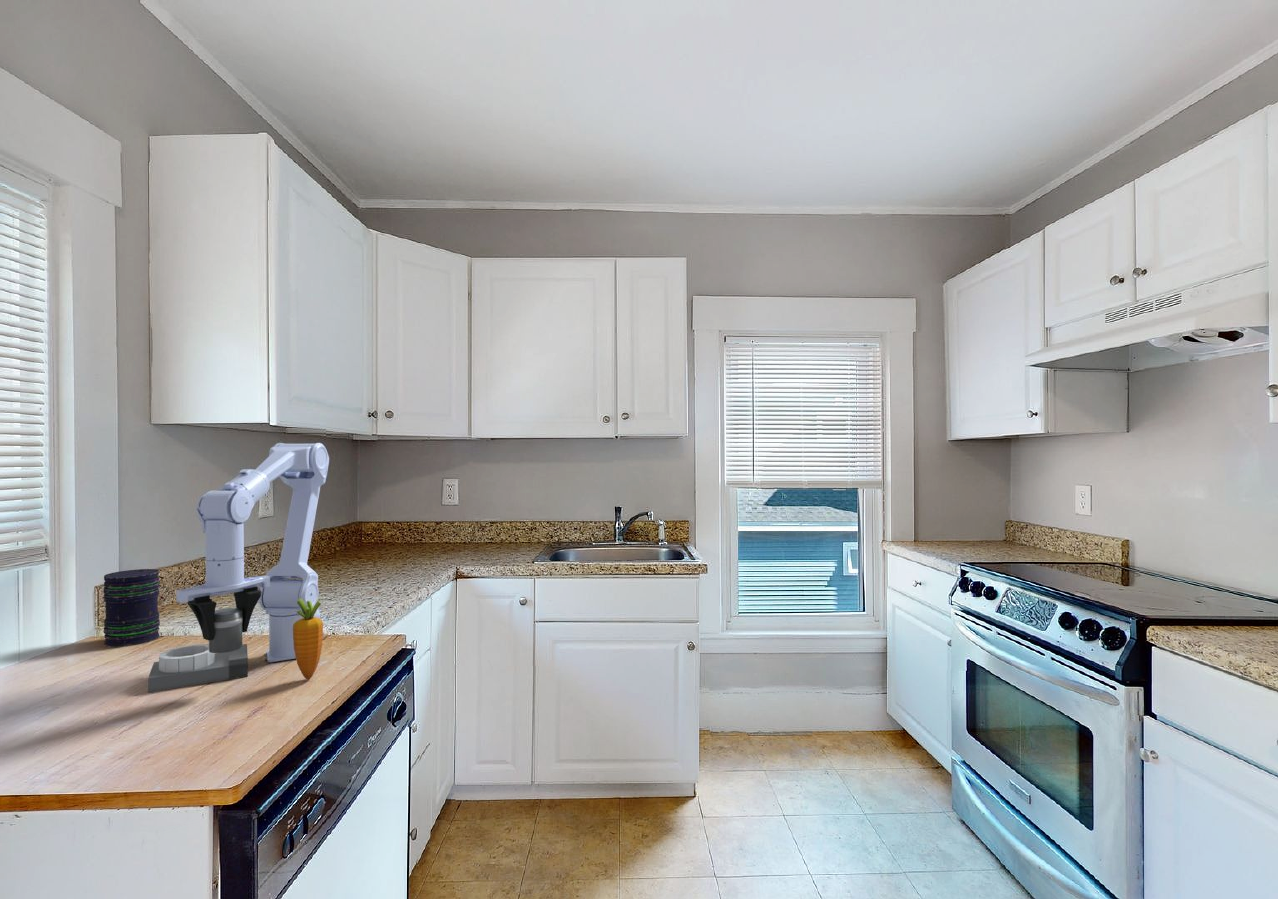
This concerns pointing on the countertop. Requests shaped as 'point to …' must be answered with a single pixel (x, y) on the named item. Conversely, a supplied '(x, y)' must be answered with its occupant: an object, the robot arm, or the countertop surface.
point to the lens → (227, 631)
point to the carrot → (308, 638)
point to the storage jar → (131, 607)
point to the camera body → (196, 667)
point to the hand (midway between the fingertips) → (225, 635)
